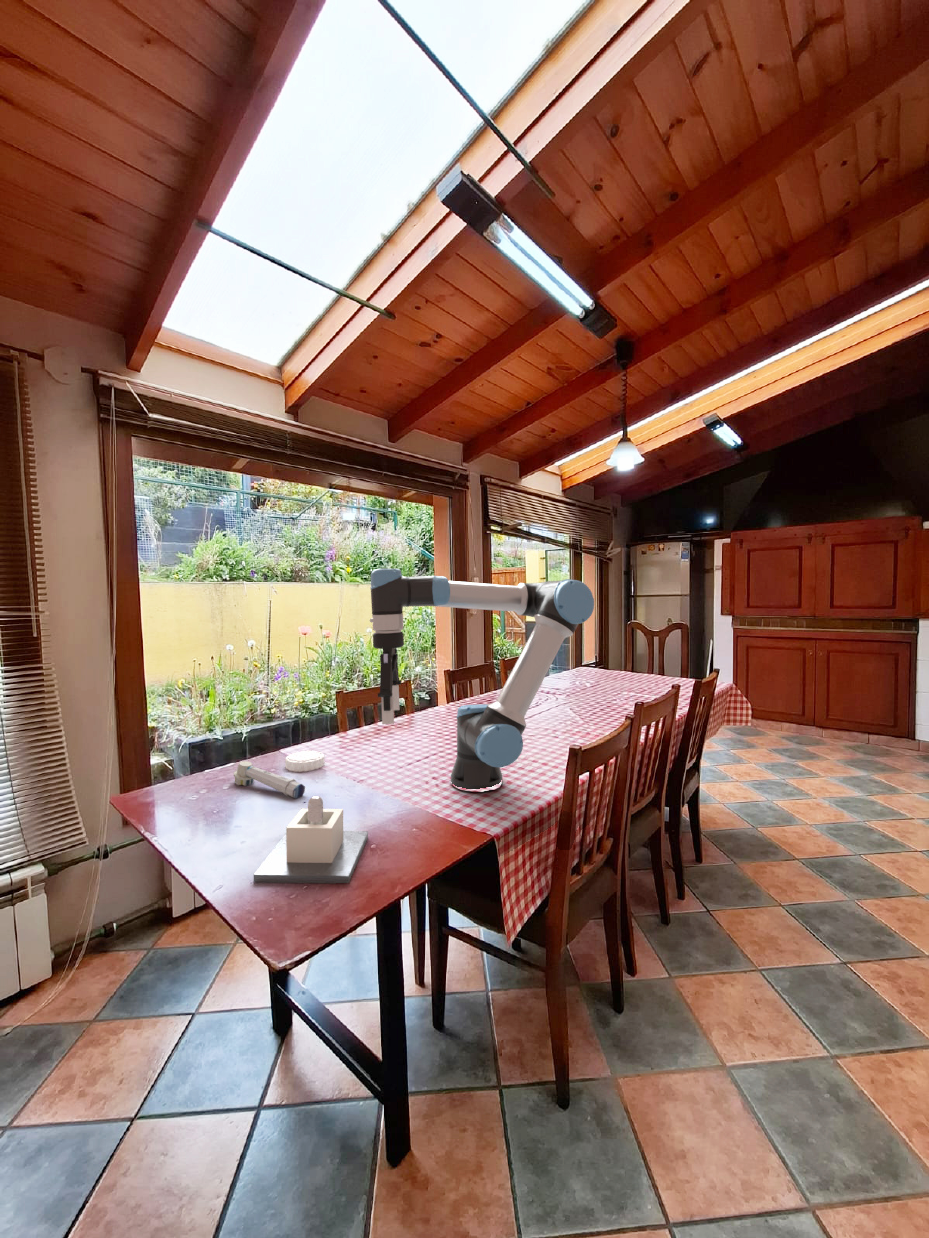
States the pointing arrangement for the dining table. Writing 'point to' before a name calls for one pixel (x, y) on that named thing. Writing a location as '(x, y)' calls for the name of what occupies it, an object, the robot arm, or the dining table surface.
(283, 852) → the post base
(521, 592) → the robot arm
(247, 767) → the toothbrush head
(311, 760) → the mooncake
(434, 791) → the dining table surface
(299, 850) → the collar
